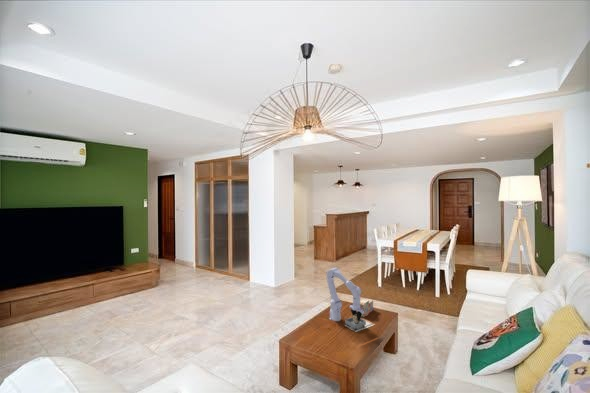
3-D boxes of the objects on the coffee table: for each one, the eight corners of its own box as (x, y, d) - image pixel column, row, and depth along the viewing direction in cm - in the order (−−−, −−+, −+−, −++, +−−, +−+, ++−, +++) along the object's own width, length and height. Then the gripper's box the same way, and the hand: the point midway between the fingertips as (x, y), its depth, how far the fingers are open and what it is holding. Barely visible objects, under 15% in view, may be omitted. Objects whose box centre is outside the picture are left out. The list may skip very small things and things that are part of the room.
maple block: (356, 319, 231) (356, 313, 231) (360, 321, 227) (360, 315, 227) (352, 321, 229) (352, 315, 228) (356, 323, 225) (356, 316, 225)
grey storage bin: (345, 325, 229) (345, 319, 229) (355, 321, 235) (355, 316, 235) (354, 330, 219) (354, 325, 219) (365, 326, 226) (365, 321, 226)
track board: (344, 326, 230) (344, 325, 230) (363, 319, 241) (363, 318, 241) (355, 333, 219) (355, 331, 219) (375, 325, 230) (375, 324, 230)
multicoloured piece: (366, 308, 265) (366, 295, 264) (373, 310, 261) (373, 296, 261) (356, 316, 248) (356, 302, 247) (363, 318, 244) (363, 304, 244)
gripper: (346, 300, 232) (346, 317, 232) (359, 306, 220) (359, 324, 220) (352, 299, 236) (353, 315, 236) (365, 304, 223) (366, 321, 224)
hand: (356, 319), depth 228 cm, fingers closed on maple block, 4 cm apart
